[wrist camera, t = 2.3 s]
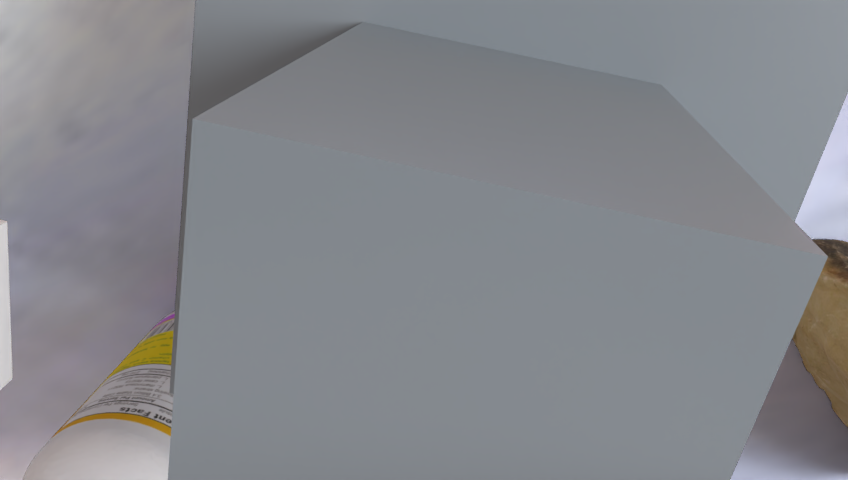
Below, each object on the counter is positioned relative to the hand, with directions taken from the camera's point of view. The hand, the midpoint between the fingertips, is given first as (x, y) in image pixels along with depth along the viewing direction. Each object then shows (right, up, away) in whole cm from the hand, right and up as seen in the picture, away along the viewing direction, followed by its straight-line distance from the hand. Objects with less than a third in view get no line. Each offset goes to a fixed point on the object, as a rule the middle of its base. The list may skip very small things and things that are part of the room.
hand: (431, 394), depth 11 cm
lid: (+1, +3, +9) cm, 10 cm away
